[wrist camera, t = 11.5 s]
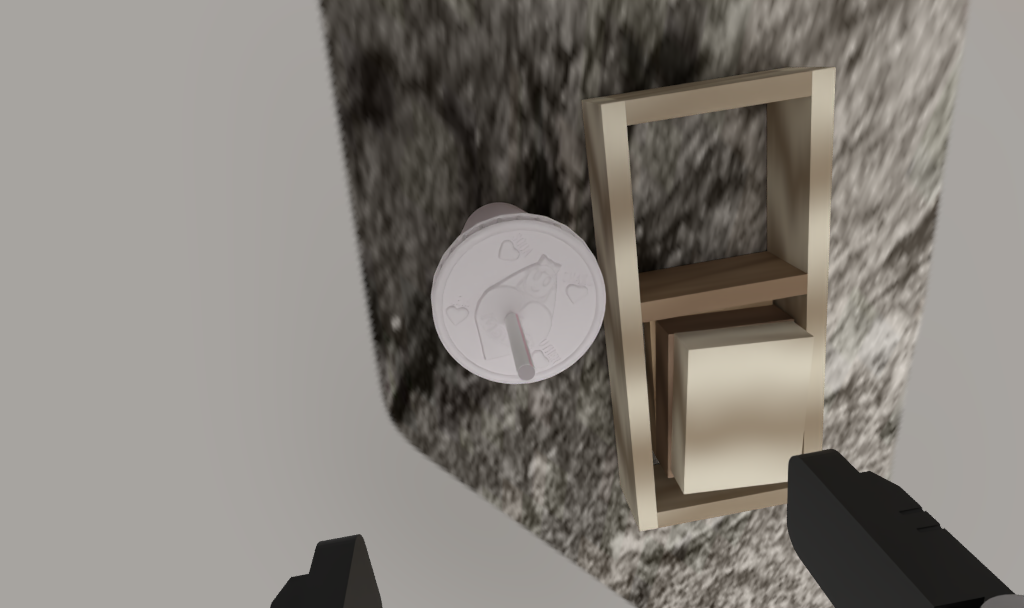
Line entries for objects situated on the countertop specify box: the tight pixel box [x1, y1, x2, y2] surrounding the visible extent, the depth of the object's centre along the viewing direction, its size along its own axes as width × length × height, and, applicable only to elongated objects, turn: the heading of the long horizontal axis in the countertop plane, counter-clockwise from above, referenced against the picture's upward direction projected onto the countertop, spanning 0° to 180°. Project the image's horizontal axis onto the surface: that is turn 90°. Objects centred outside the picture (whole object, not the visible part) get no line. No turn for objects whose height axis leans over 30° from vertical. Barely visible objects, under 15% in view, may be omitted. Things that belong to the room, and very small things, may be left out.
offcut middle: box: [655, 305, 794, 478], centre depth 34 cm, size 8×6×2 cm
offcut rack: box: [581, 67, 836, 531], centre depth 32 cm, size 22×10×4 cm, turn 8°
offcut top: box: [671, 321, 814, 494], centre depth 32 cm, size 8×6×2 cm
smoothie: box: [431, 202, 606, 384], centre depth 25 cm, size 6×6×14 cm
